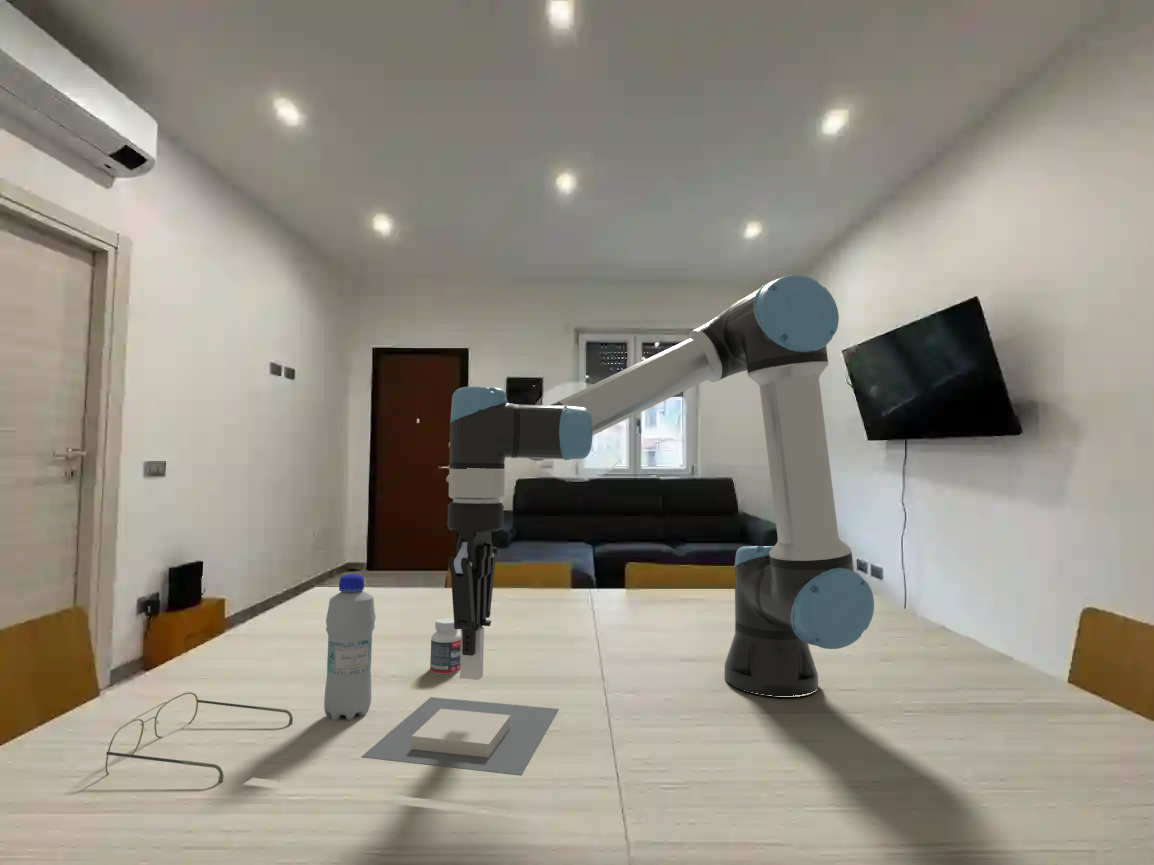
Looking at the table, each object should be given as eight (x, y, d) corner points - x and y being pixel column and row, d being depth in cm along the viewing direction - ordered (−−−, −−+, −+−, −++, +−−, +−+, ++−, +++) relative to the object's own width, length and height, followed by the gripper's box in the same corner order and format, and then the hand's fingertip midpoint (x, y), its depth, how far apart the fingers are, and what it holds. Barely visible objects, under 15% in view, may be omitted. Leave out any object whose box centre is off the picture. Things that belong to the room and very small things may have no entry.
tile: (510, 715, 84) (488, 744, 75) (510, 727, 84) (488, 758, 75) (440, 708, 86) (411, 736, 77) (440, 720, 86) (411, 749, 77)
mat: (559, 713, 91) (559, 708, 91) (521, 780, 71) (521, 774, 71) (430, 701, 94) (430, 697, 94) (360, 761, 75) (361, 756, 75)
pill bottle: (453, 678, 105) (455, 625, 105) (424, 676, 106) (426, 623, 106) (465, 668, 110) (466, 617, 110) (437, 666, 111) (439, 616, 111)
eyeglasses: (186, 723, 86) (188, 686, 86) (292, 727, 85) (294, 690, 86) (92, 782, 70) (95, 736, 70) (222, 786, 69) (224, 740, 70)
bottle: (324, 729, 84) (330, 579, 85) (319, 711, 90) (325, 571, 91) (376, 720, 87) (381, 576, 88) (368, 704, 93) (372, 568, 94)
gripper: (467, 497, 92) (462, 660, 91) (430, 502, 79) (424, 691, 78) (516, 499, 90) (512, 664, 89) (486, 504, 78) (481, 697, 76)
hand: (471, 677), depth 83 cm, fingers closed
